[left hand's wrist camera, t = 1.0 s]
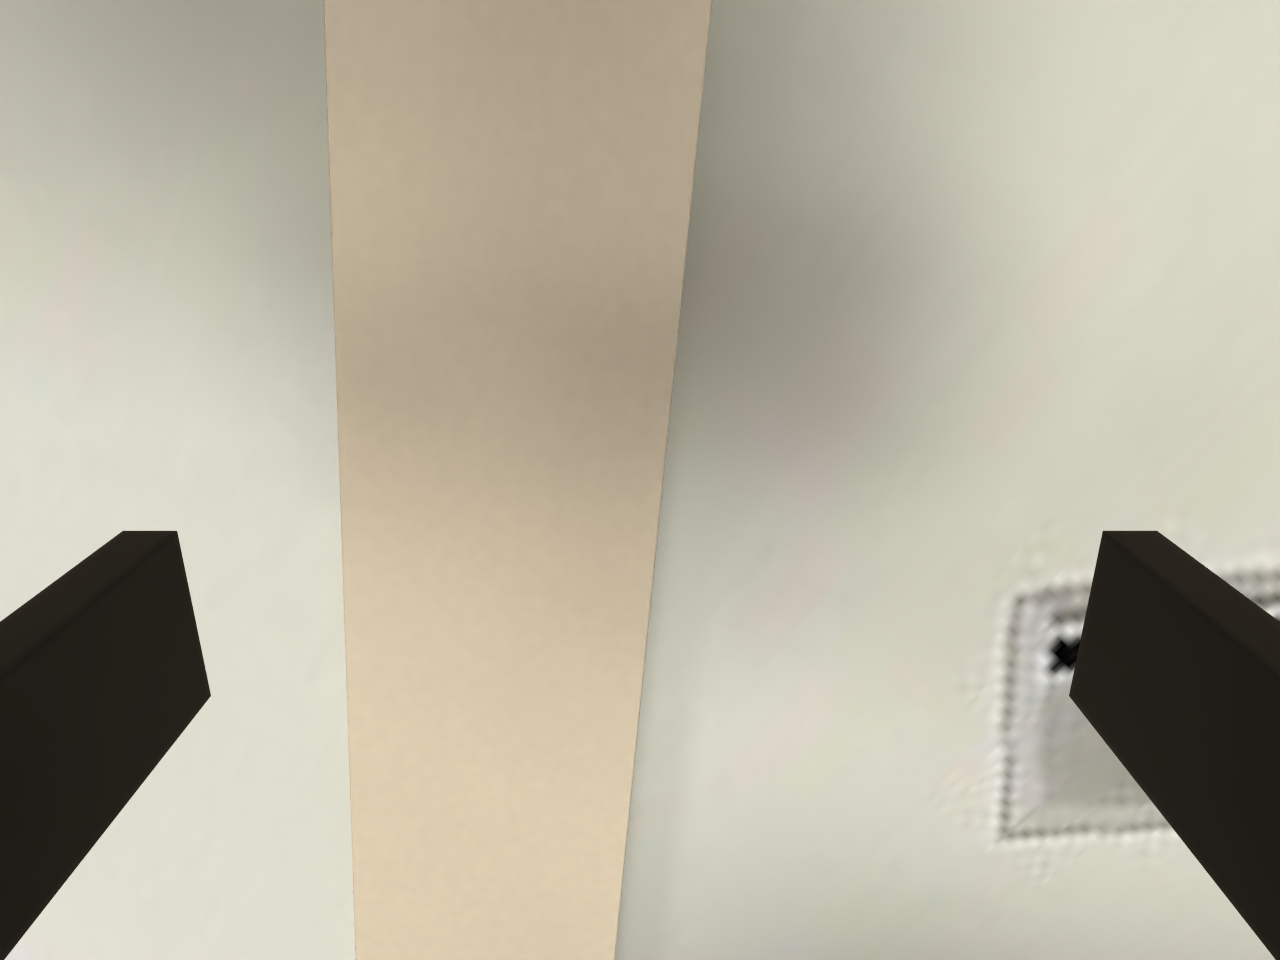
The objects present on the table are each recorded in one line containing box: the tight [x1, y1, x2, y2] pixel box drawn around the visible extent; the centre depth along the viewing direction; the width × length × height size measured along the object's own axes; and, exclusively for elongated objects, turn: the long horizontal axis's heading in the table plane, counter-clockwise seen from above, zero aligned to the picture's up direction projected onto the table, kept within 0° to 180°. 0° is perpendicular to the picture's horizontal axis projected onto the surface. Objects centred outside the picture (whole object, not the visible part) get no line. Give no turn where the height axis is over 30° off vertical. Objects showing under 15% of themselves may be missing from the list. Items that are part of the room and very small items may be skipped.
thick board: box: [324, 0, 712, 960], centre depth 32 cm, size 56×9×7 cm, turn 175°
